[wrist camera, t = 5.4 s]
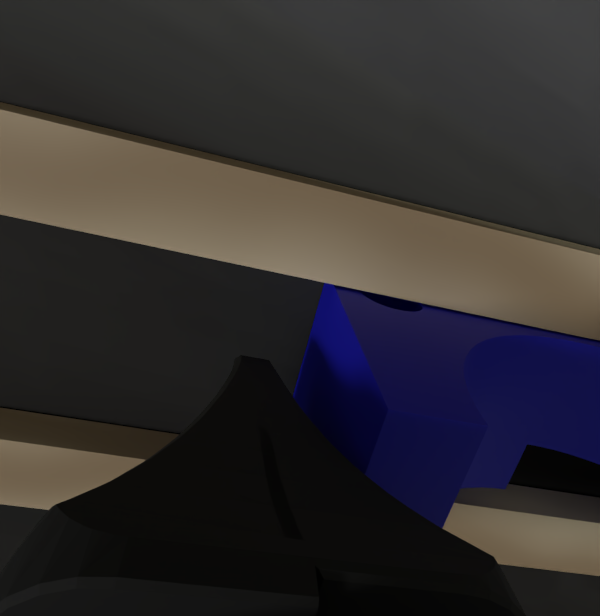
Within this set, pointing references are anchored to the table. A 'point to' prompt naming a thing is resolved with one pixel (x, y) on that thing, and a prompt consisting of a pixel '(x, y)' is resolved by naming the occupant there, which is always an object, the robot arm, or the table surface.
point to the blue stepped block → (443, 394)
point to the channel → (300, 263)
